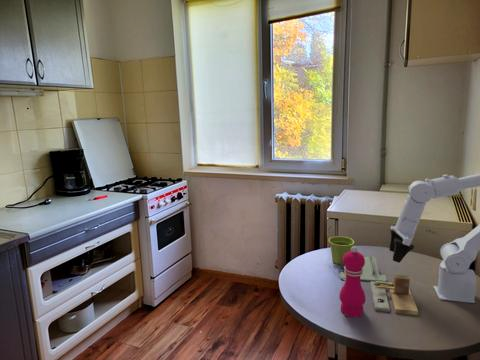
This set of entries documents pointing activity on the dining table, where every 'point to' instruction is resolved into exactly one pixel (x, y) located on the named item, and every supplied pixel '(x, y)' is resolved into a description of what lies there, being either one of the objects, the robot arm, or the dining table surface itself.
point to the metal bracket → (369, 271)
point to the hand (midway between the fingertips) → (394, 256)
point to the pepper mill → (352, 284)
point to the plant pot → (340, 248)
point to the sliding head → (399, 284)
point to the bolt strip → (379, 297)
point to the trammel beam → (401, 301)
